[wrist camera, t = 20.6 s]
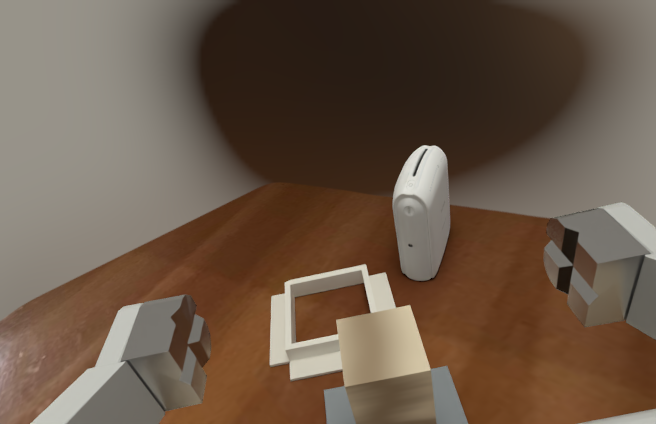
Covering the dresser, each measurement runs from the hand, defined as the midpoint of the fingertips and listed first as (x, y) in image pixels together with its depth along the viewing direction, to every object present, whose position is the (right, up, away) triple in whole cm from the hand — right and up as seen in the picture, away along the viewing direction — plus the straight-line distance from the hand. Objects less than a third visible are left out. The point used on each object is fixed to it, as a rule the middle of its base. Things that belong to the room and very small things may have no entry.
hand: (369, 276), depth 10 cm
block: (+5, -16, +24) cm, 29 cm away
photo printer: (+11, -3, +41) cm, 43 cm away
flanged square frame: (0, -10, +36) cm, 37 cm away
